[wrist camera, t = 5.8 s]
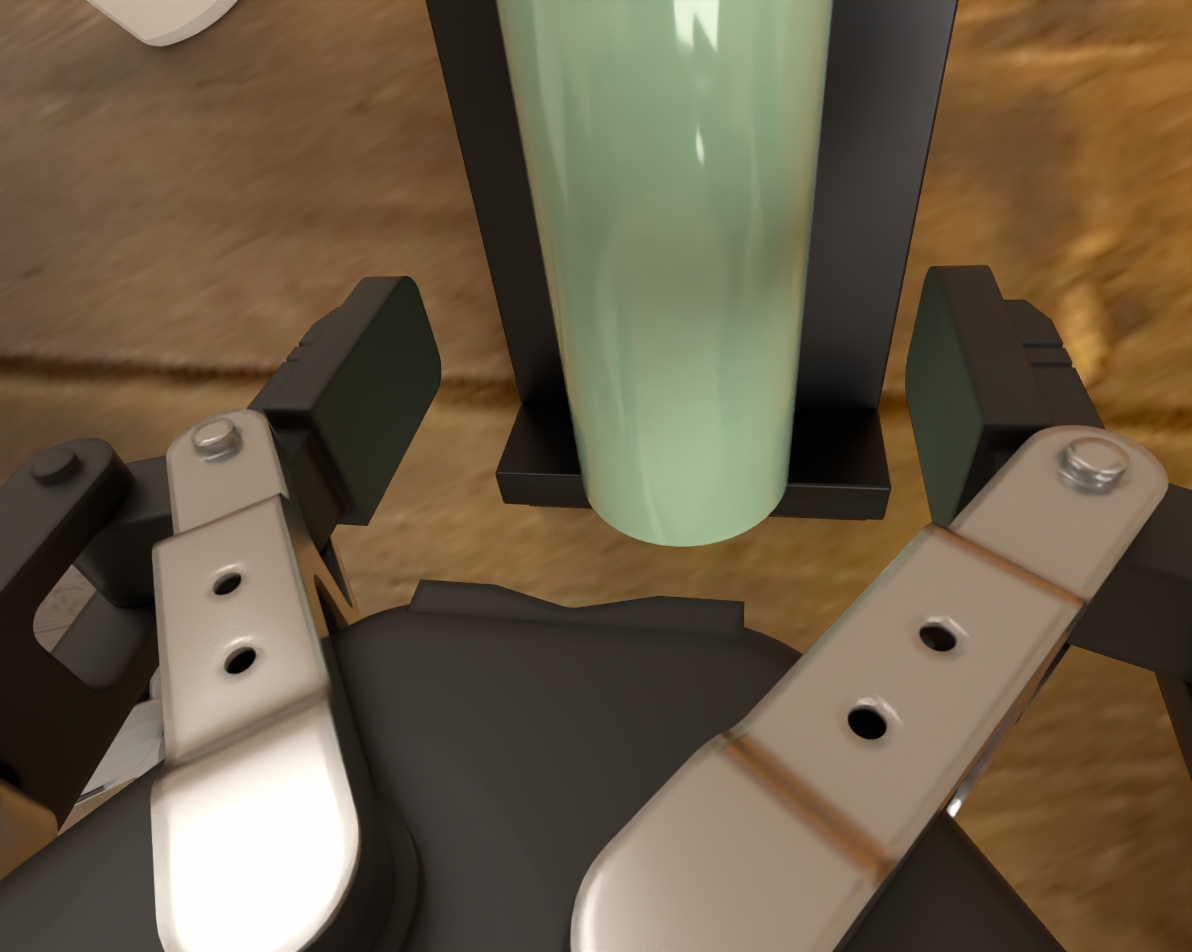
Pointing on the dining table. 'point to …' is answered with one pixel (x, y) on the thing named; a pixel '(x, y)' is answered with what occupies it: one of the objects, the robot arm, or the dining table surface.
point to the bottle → (674, 241)
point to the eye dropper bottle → (163, 17)
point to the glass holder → (144, 725)
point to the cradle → (836, 259)
